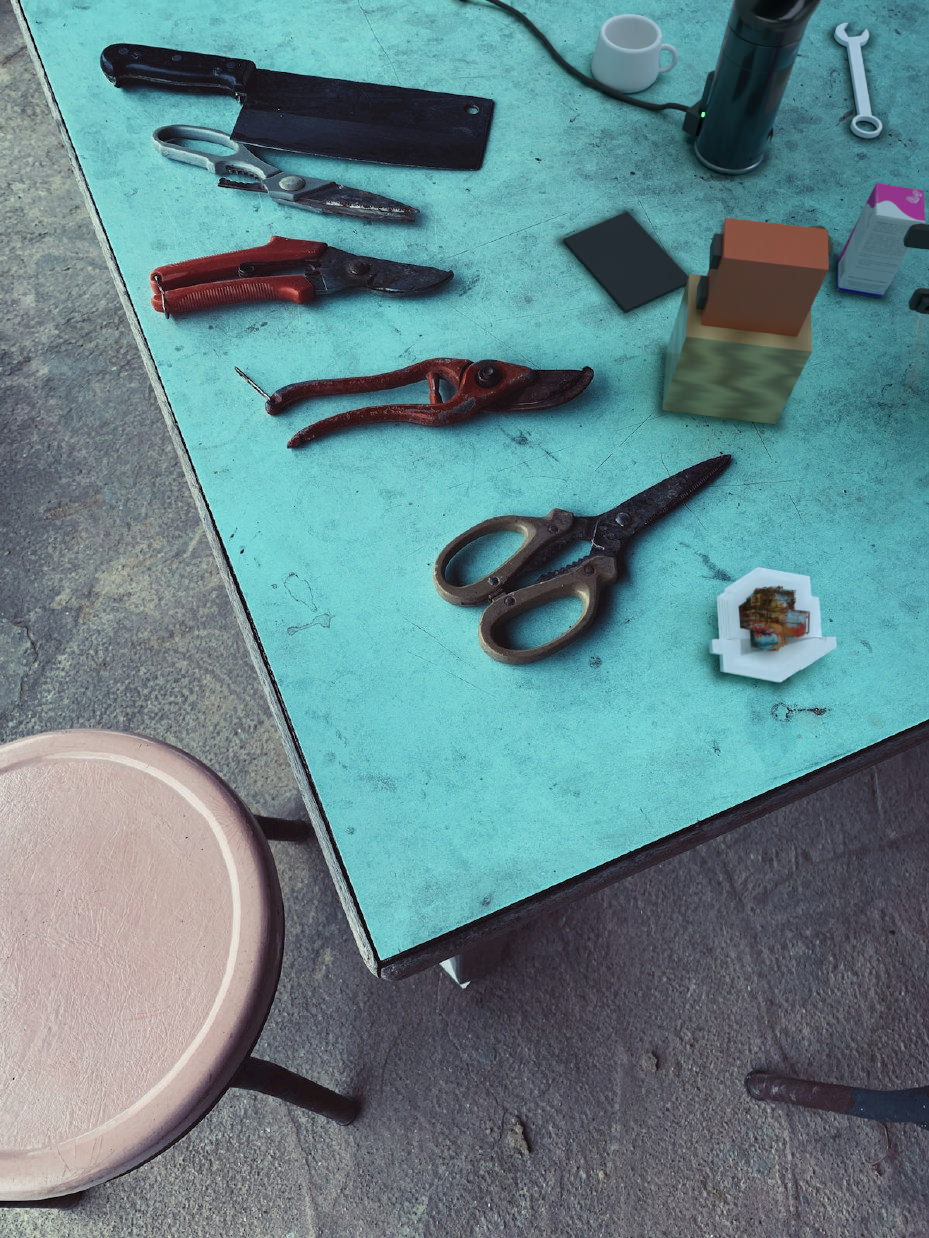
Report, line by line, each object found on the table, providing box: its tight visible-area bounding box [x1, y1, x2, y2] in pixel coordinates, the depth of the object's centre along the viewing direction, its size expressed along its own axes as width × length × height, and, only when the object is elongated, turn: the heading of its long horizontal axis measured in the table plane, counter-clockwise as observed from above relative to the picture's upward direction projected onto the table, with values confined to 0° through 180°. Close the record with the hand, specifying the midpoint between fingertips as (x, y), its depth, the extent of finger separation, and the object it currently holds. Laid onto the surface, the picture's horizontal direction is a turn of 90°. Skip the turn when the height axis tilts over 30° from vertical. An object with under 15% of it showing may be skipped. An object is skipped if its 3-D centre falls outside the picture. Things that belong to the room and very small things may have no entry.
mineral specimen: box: [708, 566, 838, 683], centre depth 91 cm, size 12×12×7 cm
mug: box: [591, 13, 679, 94], centre depth 131 cm, size 12×10×6 cm
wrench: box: [833, 22, 883, 139], centre depth 133 cm, size 25×1×5 cm
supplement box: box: [836, 182, 926, 299], centre depth 111 cm, size 6×6×12 cm
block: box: [696, 217, 830, 337], centre depth 94 cm, size 11×6×9 cm, turn 82°
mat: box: [562, 211, 689, 314], centre depth 117 cm, size 14×10×1 cm
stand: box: [661, 273, 813, 425], centre depth 103 cm, size 13×9×12 cm
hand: (909, 266), depth 90 cm, fingers open, 8 cm apart
